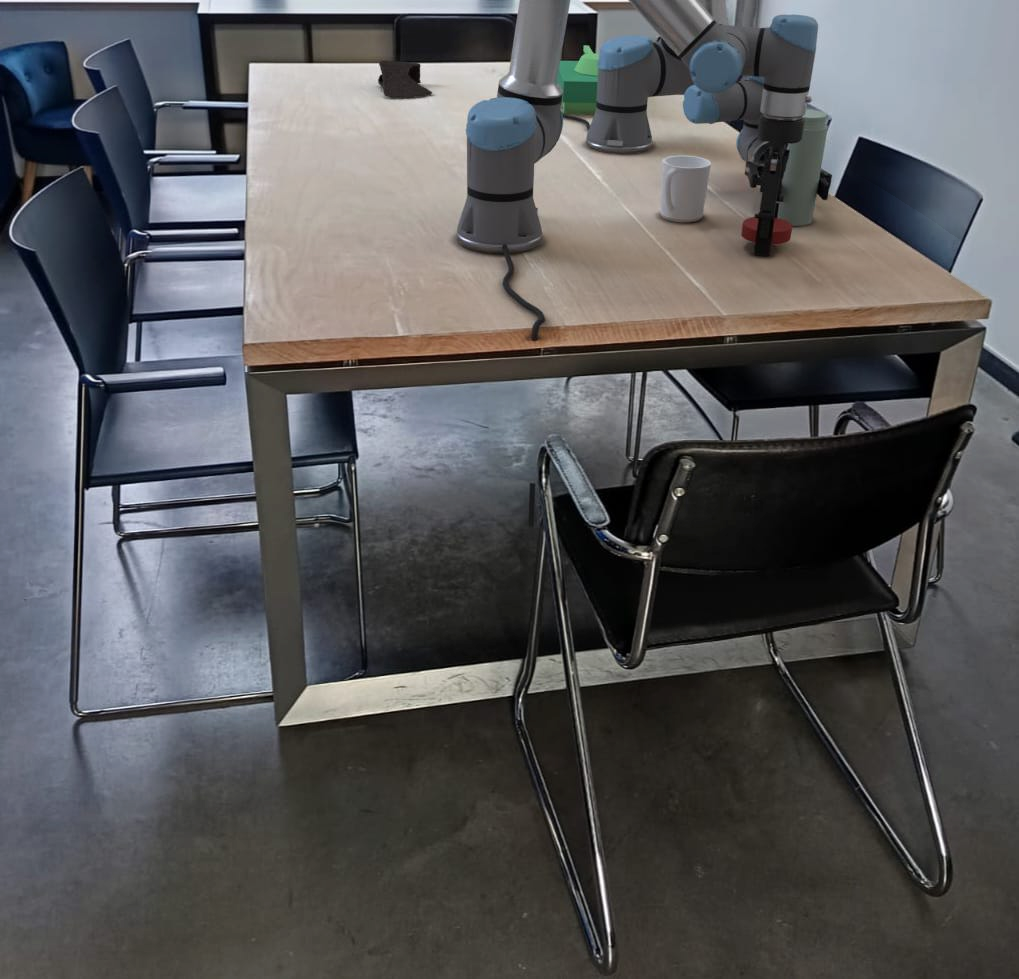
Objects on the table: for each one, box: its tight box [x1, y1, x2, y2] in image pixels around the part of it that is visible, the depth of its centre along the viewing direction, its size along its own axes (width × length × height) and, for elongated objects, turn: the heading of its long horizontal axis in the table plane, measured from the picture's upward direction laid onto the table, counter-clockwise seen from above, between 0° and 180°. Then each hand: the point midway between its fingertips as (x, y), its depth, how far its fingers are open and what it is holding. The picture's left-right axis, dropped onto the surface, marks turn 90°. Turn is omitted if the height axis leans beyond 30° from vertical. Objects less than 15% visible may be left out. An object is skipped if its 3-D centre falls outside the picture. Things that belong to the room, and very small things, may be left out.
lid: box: [740, 216, 793, 246], centre depth 194 cm, size 9×9×2 cm
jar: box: [776, 108, 829, 227], centre depth 205 cm, size 8×8×20 cm
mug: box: [659, 155, 712, 223], centre depth 206 cm, size 11×9×10 cm
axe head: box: [377, 59, 433, 99], centre depth 299 cm, size 18×8×15 cm
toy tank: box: [557, 44, 600, 115], centre depth 290 cm, size 18×12×35 cm
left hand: (764, 246), depth 195 cm, fingers closed on lid, 9 cm apart
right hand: (802, 192), depth 202 cm, fingers closed on jar, 8 cm apart
